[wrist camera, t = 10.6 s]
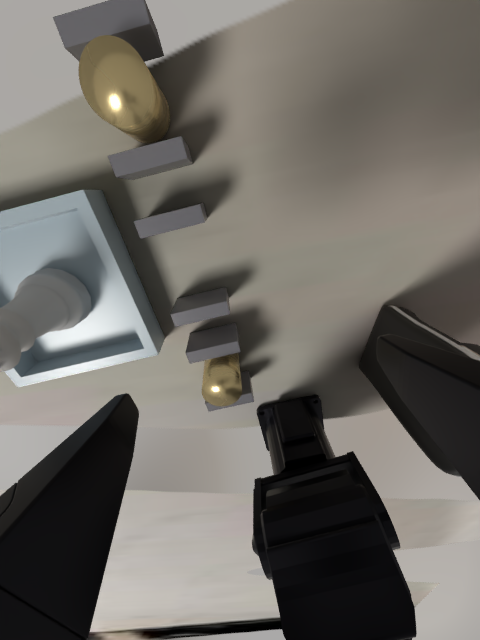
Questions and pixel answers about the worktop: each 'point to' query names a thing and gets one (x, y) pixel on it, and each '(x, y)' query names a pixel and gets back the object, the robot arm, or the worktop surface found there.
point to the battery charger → (409, 328)
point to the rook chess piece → (40, 311)
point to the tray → (90, 269)
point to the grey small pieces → (140, 32)
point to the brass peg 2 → (222, 380)
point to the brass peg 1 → (123, 89)
